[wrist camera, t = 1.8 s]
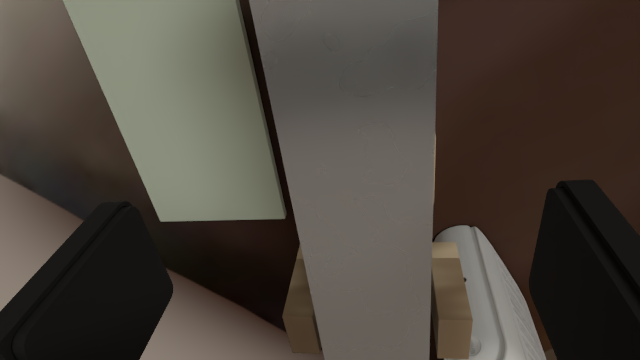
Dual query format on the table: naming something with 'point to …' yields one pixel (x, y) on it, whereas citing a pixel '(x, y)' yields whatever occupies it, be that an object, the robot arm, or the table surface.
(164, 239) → the table surface
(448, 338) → the forked stand
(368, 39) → the steel bar
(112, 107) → the sage mat
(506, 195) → the table surface
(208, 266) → the table surface
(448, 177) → the table surface
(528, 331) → the photo printer
